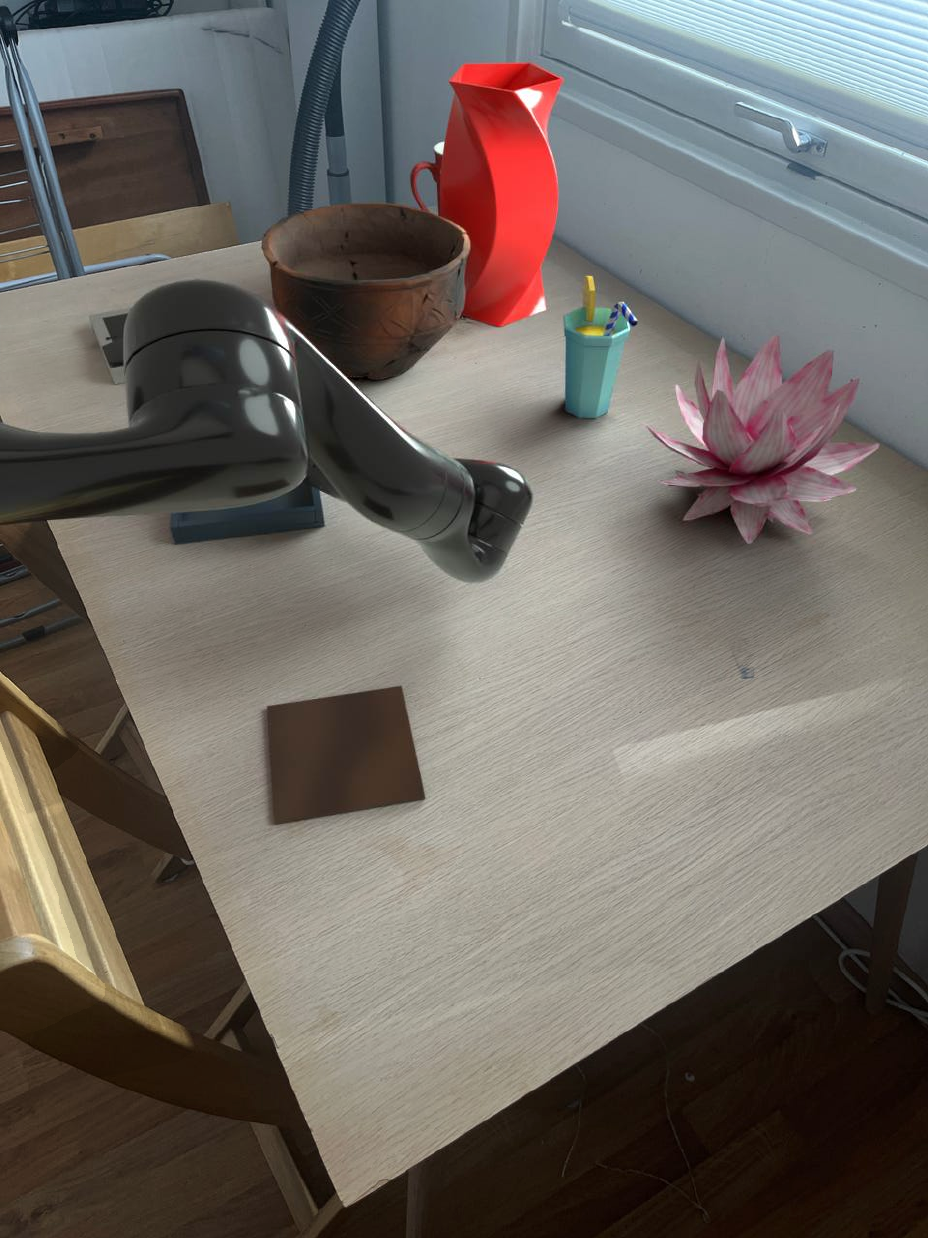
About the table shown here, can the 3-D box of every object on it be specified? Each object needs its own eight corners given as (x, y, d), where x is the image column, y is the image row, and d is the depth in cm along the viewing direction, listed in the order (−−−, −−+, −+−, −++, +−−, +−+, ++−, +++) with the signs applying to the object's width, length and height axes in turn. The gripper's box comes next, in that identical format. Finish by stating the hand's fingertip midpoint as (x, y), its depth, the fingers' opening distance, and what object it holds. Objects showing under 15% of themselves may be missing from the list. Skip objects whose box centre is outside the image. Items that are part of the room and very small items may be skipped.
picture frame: (114, 384, 107) (279, 349, 114) (108, 363, 105) (276, 328, 112) (92, 329, 117) (245, 300, 124) (86, 309, 115) (241, 280, 122)
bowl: (509, 346, 115) (515, 228, 104) (388, 429, 100) (381, 301, 90) (364, 296, 125) (356, 183, 114) (236, 364, 111) (213, 243, 100)
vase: (555, 322, 120) (576, 89, 100) (452, 332, 117) (452, 95, 98) (524, 276, 130) (537, 57, 111) (429, 285, 128) (425, 62, 108)
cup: (647, 435, 100) (670, 308, 89) (585, 447, 98) (601, 320, 88) (593, 376, 109) (608, 256, 99) (535, 387, 107) (545, 265, 97)
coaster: (275, 825, 63) (274, 822, 63) (267, 709, 71) (266, 706, 71) (425, 799, 65) (425, 796, 65) (402, 688, 73) (401, 685, 72)
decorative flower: (776, 431, 101) (814, 304, 90) (891, 545, 86) (953, 411, 76) (604, 460, 96) (623, 331, 86) (695, 586, 82) (731, 449, 71)
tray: (174, 544, 85) (169, 527, 84) (177, 455, 96) (173, 438, 95) (324, 526, 88) (322, 509, 86) (311, 441, 99) (309, 424, 97)
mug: (484, 227, 144) (486, 136, 134) (496, 249, 137) (499, 155, 128) (408, 232, 142) (405, 140, 133) (416, 254, 136) (413, 160, 126)
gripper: (386, 387, 84) (263, 336, 91) (277, 455, 76) (151, 393, 83) (390, 454, 89) (274, 401, 96) (288, 524, 81) (169, 460, 88)
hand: (217, 397), depth 89 cm, fingers closed on tumbler, 6 cm apart
